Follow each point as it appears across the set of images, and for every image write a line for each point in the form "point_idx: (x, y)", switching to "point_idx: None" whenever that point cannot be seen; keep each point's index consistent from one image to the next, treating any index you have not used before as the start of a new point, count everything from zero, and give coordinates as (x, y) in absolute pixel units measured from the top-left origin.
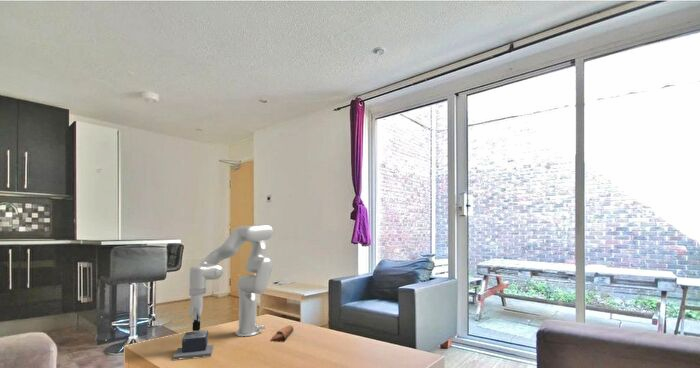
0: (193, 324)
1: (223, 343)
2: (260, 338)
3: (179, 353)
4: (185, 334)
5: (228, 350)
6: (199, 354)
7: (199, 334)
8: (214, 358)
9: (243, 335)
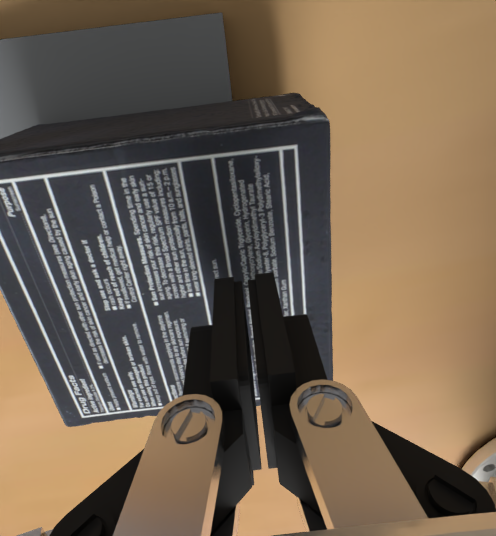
0: (215, 360)
1: (358, 378)
2: None
3: (14, 100)
4: (196, 146)
5: None
6: None
7: (168, 349)
8: (19, 387)
9: (468, 470)
